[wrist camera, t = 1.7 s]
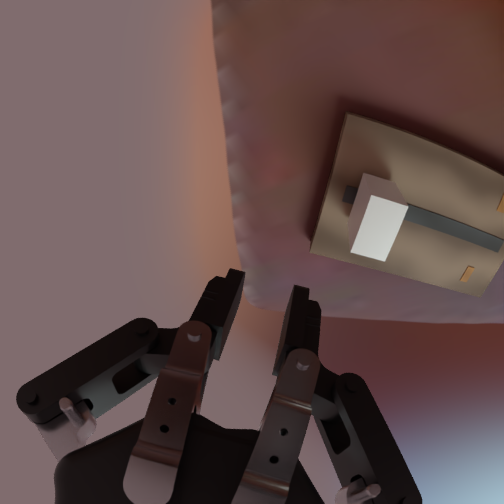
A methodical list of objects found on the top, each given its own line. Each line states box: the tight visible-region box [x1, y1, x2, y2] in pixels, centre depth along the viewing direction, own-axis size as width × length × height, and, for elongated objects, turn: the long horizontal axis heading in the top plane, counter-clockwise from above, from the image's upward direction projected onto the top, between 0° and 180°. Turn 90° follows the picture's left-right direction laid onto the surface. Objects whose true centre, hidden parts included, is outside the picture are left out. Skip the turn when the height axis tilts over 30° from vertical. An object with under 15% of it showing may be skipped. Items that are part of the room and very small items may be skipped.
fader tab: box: [347, 173, 408, 261], centre depth 23 cm, size 5×3×5 cm, turn 171°
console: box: [310, 111, 504, 297], centre depth 26 cm, size 14×22×2 cm, turn 81°
